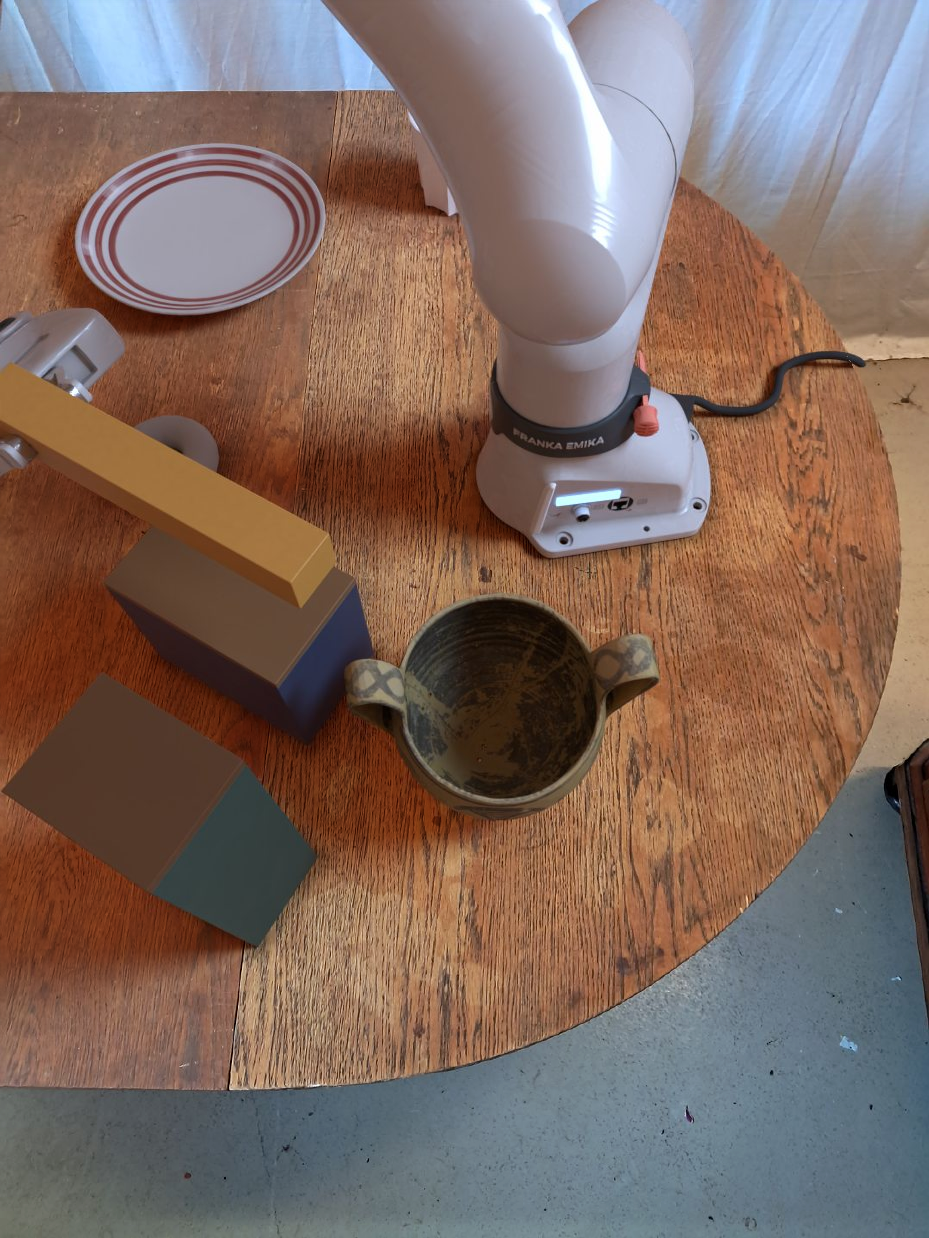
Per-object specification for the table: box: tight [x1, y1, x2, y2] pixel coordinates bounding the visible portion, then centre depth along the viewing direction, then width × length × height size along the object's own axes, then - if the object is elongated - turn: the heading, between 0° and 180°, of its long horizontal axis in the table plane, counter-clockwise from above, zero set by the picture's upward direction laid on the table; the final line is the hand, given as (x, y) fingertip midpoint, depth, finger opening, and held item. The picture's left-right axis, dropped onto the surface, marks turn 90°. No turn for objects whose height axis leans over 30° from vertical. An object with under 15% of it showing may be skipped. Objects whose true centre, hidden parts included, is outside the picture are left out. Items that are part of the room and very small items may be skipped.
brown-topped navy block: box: [102, 525, 375, 747], centre depth 73 cm, size 16×10×14 cm, turn 59°
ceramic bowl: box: [344, 592, 661, 822], centre depth 69 cm, size 22×17×15 cm
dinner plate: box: [74, 142, 326, 316], centre depth 100 cm, size 27×27×3 cm
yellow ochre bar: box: [0, 362, 338, 609], centre depth 58 cm, size 26×4×4 cm, turn 59°
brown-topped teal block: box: [0, 671, 319, 948], centre depth 59 cm, size 10×8×26 cm
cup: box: [407, 110, 459, 217], centre depth 100 cm, size 10×10×10 cm
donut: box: [133, 414, 220, 473], centre depth 86 cm, size 10×4×10 cm
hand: (52, 423), depth 59 cm, fingers closed on yellow ochre bar, 4 cm apart
